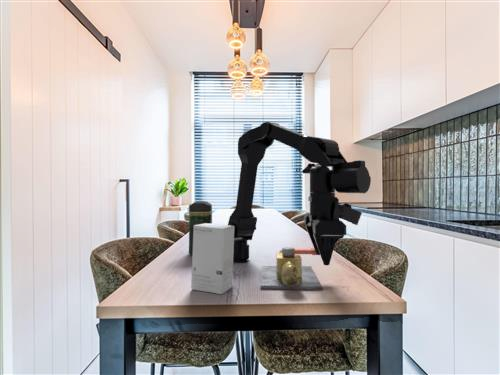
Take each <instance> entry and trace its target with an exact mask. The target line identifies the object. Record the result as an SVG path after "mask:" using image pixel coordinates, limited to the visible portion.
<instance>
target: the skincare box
mask: <svg viewBox="0 0 500 375" xmlns="http://www.w3.org/2000/svg"><path fill="white" fill-rule="evenodd" d="M233 253H234V226H232V225H228V224H221V223H213V222H212V223H204V224H199V225H194V230H193V255H192V256H191V257H192V260H191V261H192V262H191V263H192V264H191V283H190V288H191V290H193V291H199V292H204V293H212V294H217V295H223V294H224V293H225V292H227V291H229V290H230V289H231V288H232V287H233V275H234V262H233Z"/></svg>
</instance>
